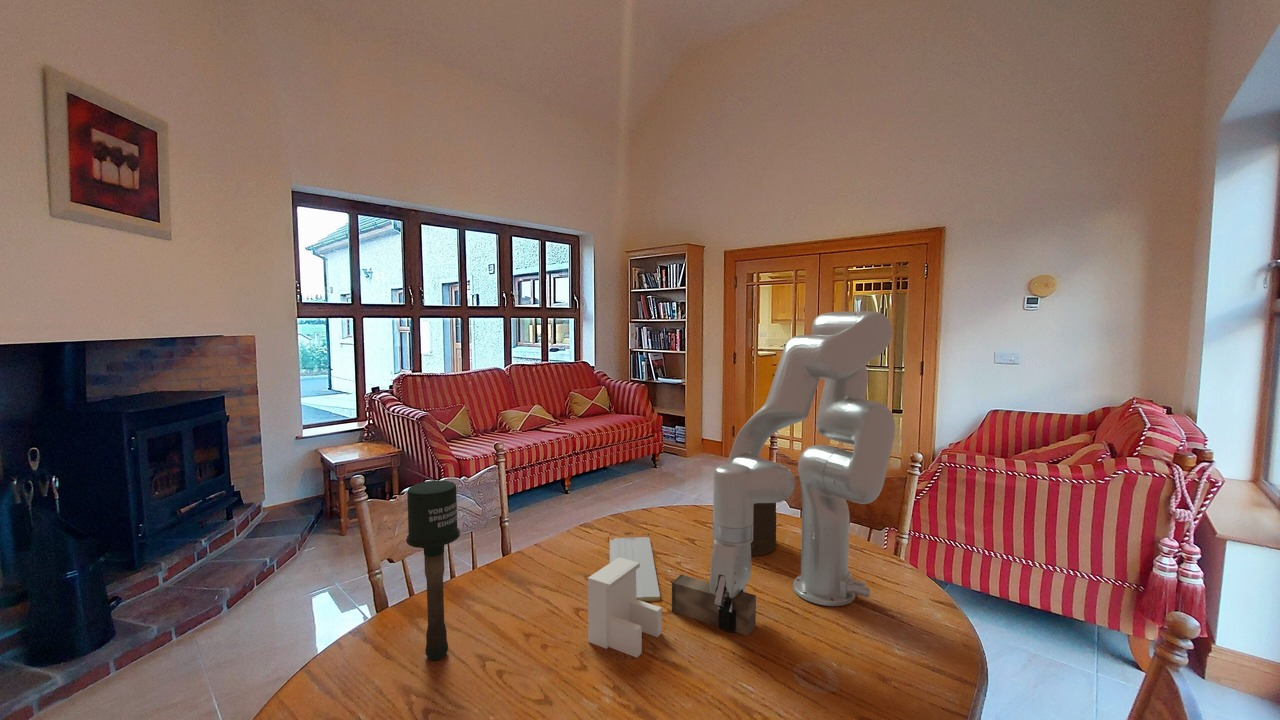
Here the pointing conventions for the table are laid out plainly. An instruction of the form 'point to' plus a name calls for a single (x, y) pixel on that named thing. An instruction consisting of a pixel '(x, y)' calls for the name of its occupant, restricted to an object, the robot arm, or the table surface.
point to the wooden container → (764, 529)
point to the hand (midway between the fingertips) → (731, 622)
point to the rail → (711, 603)
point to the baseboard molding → (646, 573)
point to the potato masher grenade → (433, 549)
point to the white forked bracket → (619, 609)
